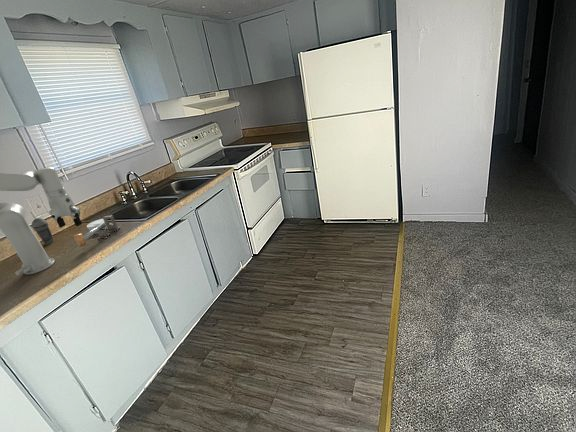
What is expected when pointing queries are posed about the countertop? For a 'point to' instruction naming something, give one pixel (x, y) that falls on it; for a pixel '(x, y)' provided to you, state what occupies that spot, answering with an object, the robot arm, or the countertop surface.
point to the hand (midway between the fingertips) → (71, 225)
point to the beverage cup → (42, 230)
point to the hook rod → (87, 235)
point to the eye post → (110, 226)
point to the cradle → (102, 233)
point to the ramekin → (96, 224)
